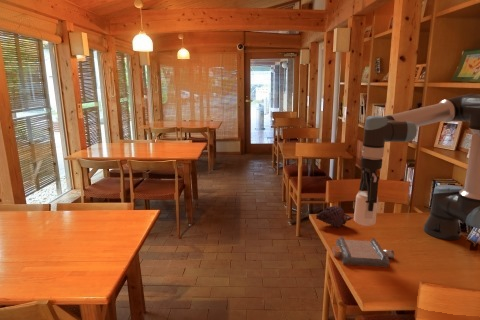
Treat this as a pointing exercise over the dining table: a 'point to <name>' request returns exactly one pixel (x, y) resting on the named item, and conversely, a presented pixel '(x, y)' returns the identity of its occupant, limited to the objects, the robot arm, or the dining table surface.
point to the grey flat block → (362, 252)
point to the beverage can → (361, 207)
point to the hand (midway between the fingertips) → (365, 213)
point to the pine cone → (333, 216)
